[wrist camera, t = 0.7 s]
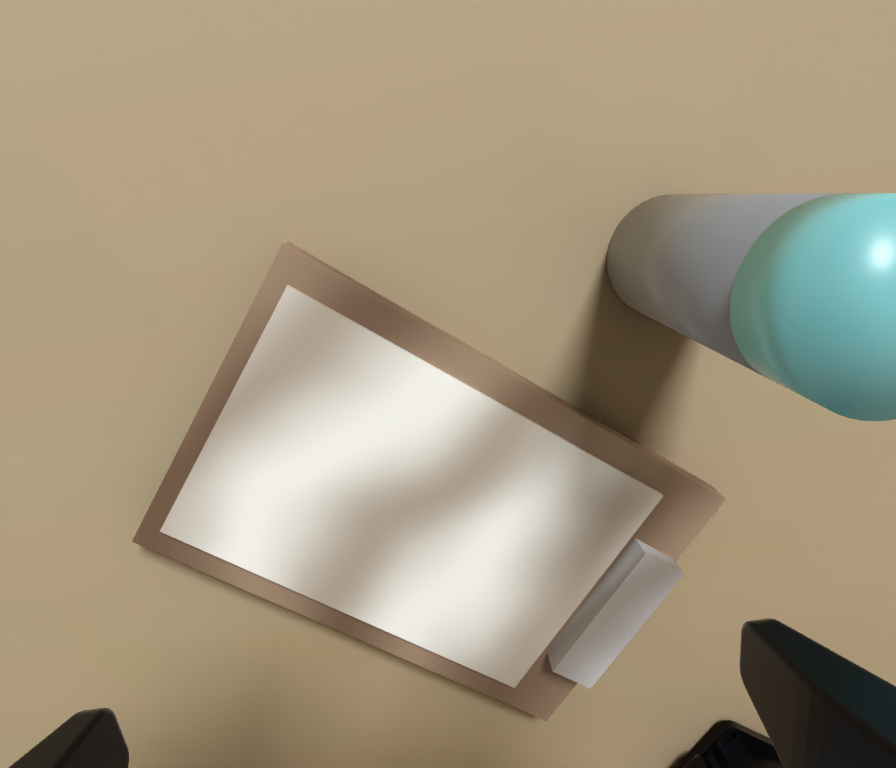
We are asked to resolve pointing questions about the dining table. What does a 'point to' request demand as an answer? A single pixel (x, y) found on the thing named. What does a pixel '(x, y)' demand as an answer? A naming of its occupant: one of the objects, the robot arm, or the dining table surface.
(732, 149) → the dining table surface
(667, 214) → the marker
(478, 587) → the clipboard
